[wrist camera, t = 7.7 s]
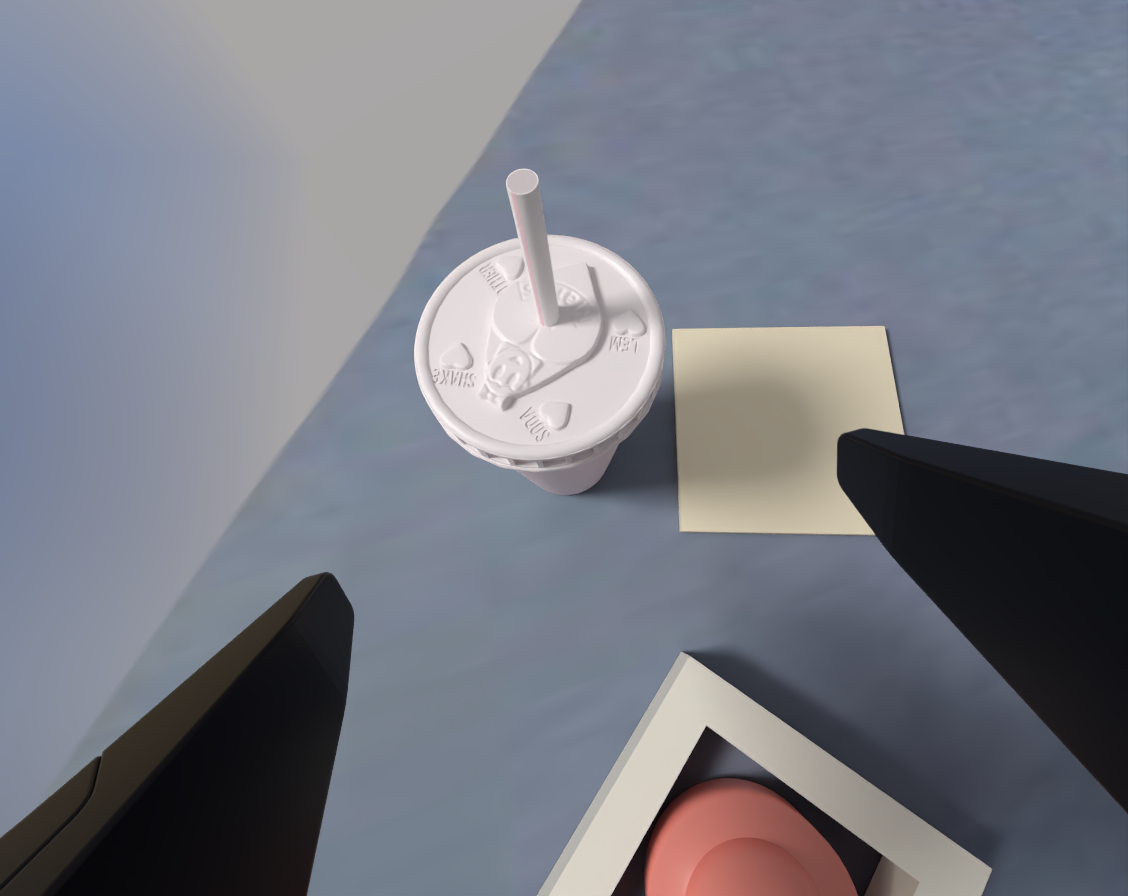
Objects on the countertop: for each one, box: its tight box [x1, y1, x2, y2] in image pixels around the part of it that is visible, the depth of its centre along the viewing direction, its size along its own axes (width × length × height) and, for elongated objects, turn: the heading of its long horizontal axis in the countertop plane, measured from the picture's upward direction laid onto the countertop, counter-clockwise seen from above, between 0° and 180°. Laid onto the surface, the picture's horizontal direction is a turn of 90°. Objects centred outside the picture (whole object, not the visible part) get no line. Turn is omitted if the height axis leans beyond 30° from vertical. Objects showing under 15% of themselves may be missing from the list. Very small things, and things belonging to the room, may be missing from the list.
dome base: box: [537, 652, 992, 896], centre depth 16 cm, size 10×10×2 cm
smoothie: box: [414, 169, 665, 495], centre depth 15 cm, size 6×6×14 cm
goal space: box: [672, 326, 904, 536], centre depth 21 cm, size 9×9×1 cm
